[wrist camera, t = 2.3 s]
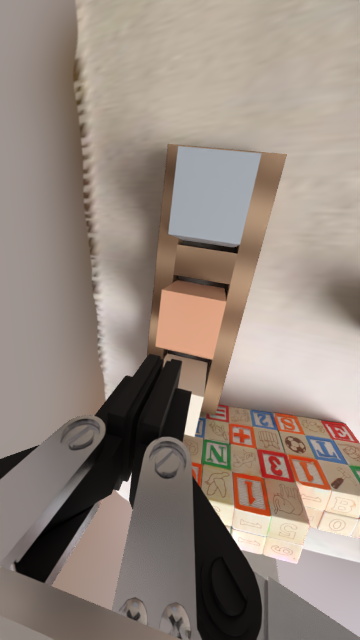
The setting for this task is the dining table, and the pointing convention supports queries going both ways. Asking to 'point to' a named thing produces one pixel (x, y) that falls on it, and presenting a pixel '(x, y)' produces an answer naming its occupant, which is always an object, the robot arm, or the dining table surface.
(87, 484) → the robot arm
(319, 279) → the dining table surface
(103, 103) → the dining table surface
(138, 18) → the dining table surface
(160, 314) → the peach block
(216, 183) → the button slate
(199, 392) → the button cream
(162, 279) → the button board
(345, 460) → the stack of blocks
